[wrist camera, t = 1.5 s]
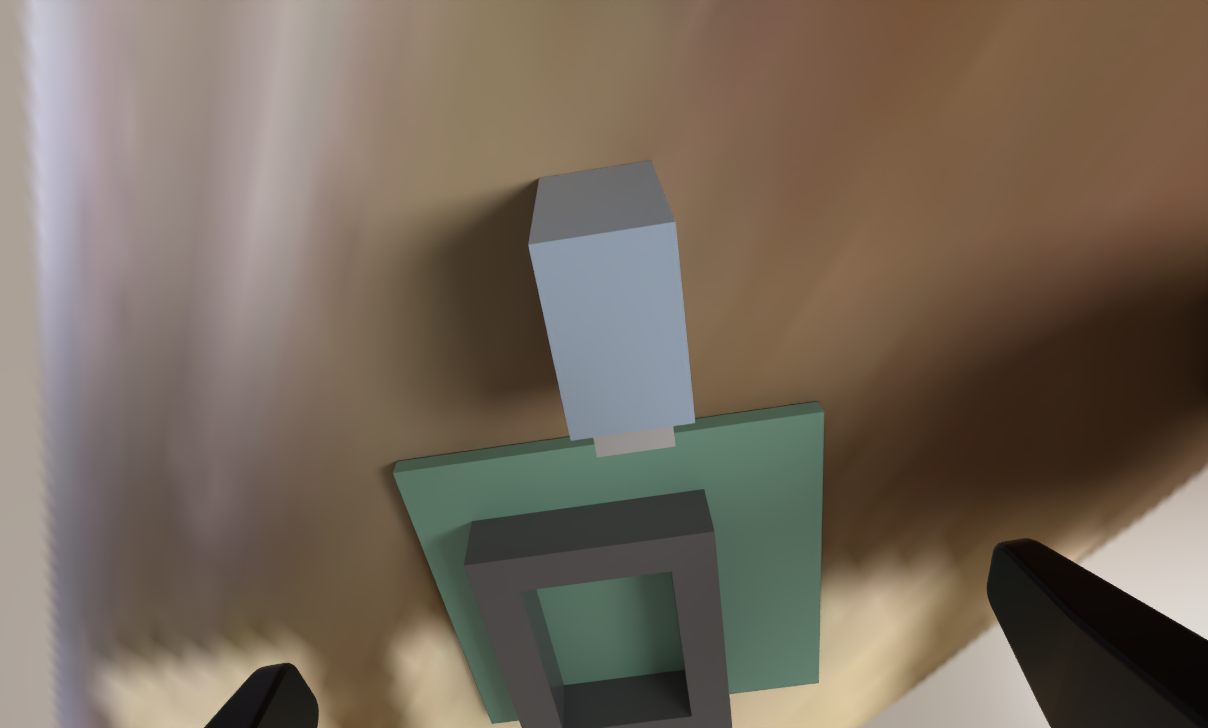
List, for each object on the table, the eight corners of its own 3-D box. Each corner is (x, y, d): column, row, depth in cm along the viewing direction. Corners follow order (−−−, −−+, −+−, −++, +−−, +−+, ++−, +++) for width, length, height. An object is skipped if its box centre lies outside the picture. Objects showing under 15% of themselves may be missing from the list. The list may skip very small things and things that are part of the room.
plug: (650, 160, 18) (675, 221, 14) (673, 355, 21) (698, 455, 17) (539, 178, 18) (528, 244, 14) (576, 369, 21) (577, 472, 17)
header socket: (704, 489, 23) (714, 531, 21) (723, 687, 28) (732, 733, 27) (471, 521, 23) (463, 565, 22) (535, 711, 29) (533, 758, 27)
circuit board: (818, 401, 22) (824, 411, 21) (814, 670, 29) (818, 682, 29) (397, 461, 23) (392, 472, 22) (493, 710, 30) (491, 723, 29)
